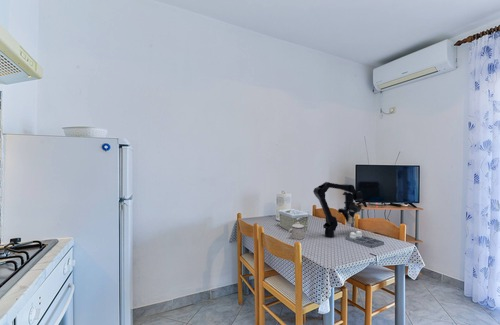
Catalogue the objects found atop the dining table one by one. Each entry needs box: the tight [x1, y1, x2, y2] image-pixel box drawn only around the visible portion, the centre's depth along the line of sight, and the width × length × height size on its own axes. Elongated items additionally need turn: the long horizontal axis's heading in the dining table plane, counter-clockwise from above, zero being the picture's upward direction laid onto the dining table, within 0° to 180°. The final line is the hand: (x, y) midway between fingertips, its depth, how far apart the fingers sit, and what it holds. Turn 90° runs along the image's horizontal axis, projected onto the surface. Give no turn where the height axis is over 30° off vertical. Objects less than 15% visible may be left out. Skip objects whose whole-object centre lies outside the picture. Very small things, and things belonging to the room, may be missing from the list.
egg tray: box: [345, 234, 385, 249], centre depth 169 cm, size 14×20×3 cm
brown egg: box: [345, 215, 354, 225], centre depth 185 cm, size 4×4×6 cm
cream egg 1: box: [349, 231, 356, 239], centre depth 173 cm, size 4×4×6 cm
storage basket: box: [278, 208, 309, 233], centre depth 207 cm, size 24×16×15 cm
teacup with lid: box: [288, 222, 305, 240], centre depth 181 cm, size 12×9×12 cm
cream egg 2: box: [355, 230, 363, 238], centre depth 176 cm, size 4×4×6 cm
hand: (349, 221), depth 185 cm, fingers closed on brown egg, 4 cm apart
